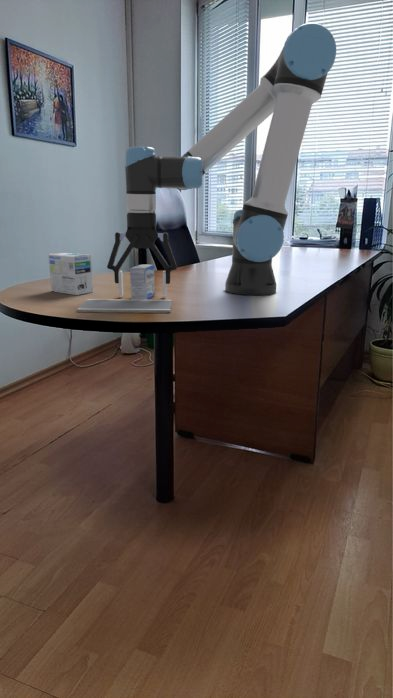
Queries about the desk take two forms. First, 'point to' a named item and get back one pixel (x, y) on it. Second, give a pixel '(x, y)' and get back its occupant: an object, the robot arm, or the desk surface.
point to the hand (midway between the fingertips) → (142, 295)
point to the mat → (126, 306)
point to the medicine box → (142, 282)
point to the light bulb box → (71, 273)
